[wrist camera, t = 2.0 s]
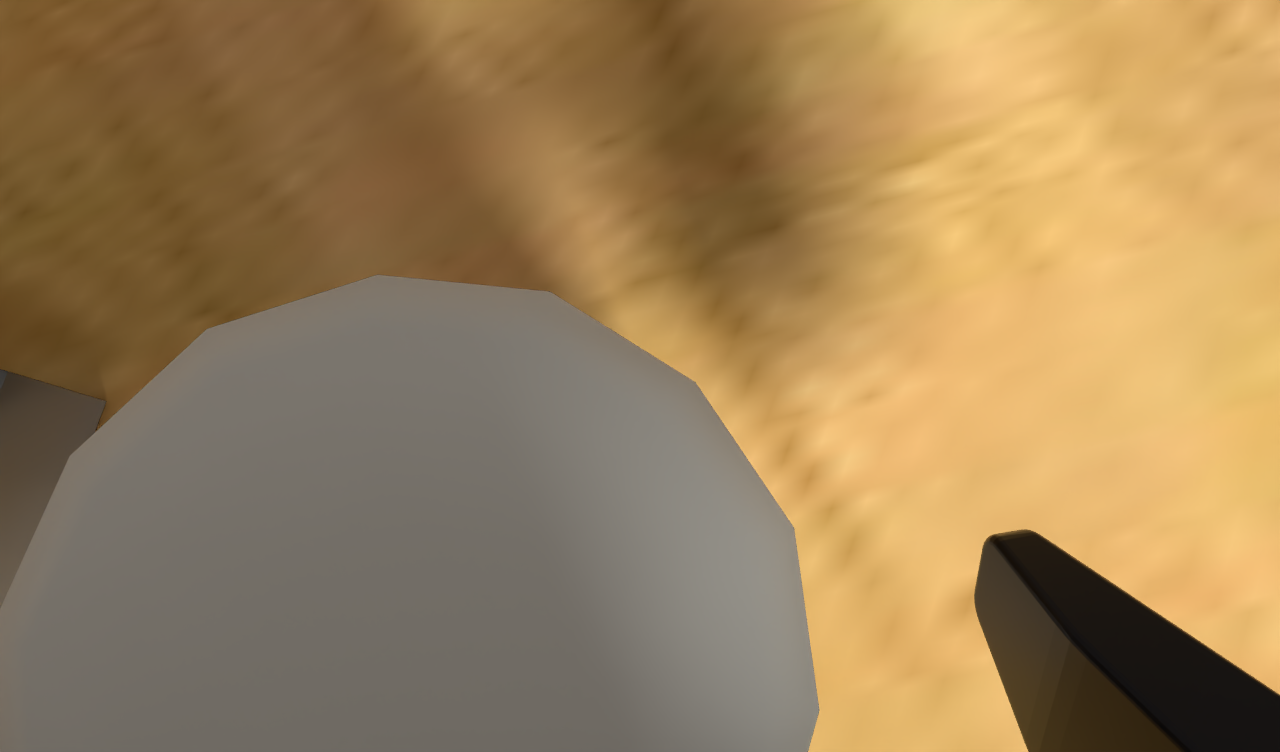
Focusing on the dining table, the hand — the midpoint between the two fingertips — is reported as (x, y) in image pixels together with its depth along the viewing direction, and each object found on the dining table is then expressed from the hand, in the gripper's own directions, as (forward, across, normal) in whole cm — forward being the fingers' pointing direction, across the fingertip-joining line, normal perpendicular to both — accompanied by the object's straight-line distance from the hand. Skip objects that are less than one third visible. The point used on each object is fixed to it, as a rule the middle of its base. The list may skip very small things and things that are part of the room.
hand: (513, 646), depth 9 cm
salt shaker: (+6, 0, +6) cm, 8 cm away
